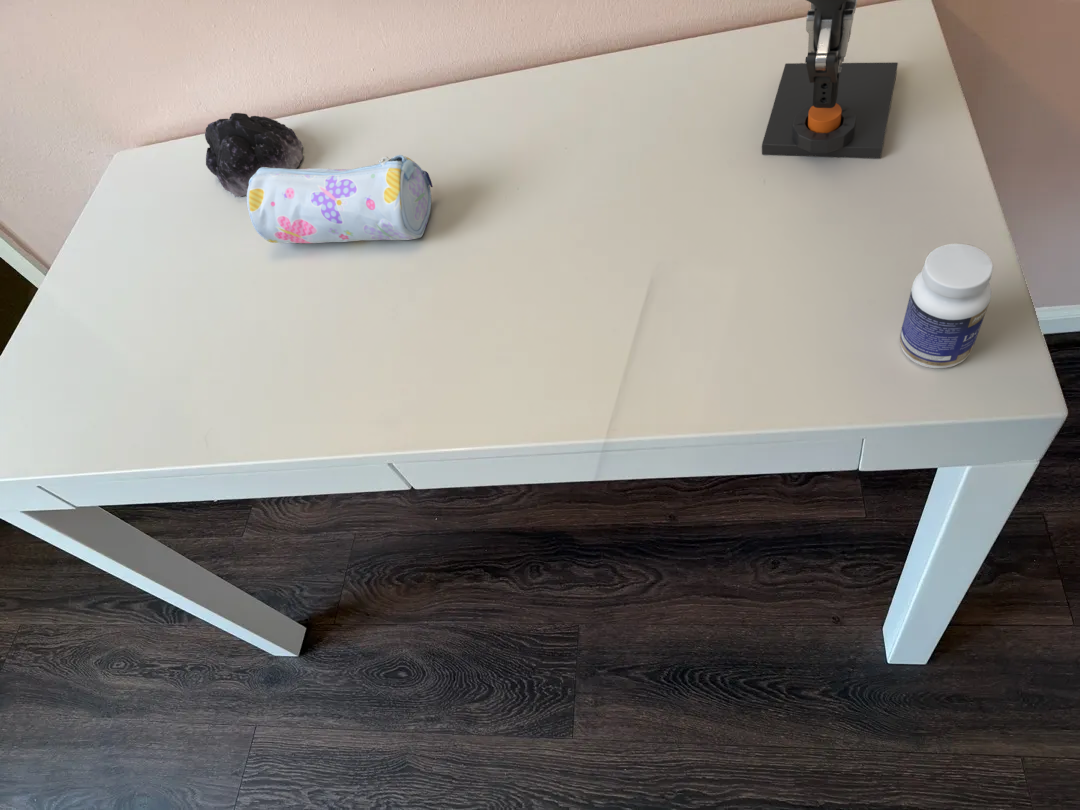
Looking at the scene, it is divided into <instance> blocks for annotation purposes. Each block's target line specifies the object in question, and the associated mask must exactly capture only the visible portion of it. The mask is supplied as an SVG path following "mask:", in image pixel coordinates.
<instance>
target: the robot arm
mask: <svg viewBox="0 0 1080 810" xmlns="http://www.w3.org/2000/svg"><path fill="white" fill-rule="evenodd" d="M806 1H807V2H809V3H810V9H809V10H808V11H807V13H806V21H805V24H806V25H805V31H806V33H807V34H808V39H807V40H808V42H807V56H805V59H804V63H806V67H807V72H808V76H809V81H810V83H814V90H813V106H814V107H816V108H833V107H834V106H835V104H836V100H837V96H838V86H839V75H840V73H841V70H842V67H841V65H842V63H845V57H846V56H847V52H848V48H849V43H850V39H851V35H852V28H853V22H854V16H855V15H854V14H855V13H856V9H857V6H858V0H806Z"/></svg>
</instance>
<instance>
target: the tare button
mask: <svg viewBox="0 0 1080 810" xmlns="http://www.w3.org/2000/svg"><path fill="white" fill-rule="evenodd" d="M841 112H842V109H841V107H840V106H839V105H838V104H837V103H836V104H835V106H834V107H833V108H816V107H814V106H812V107H811V108H810V110H809V114H808V127H809V129H810V130H811V131H813V132H815V133H829V132H832V131H835V130H836V129H837V128H838V127H839V126H840V122H841Z"/></svg>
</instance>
